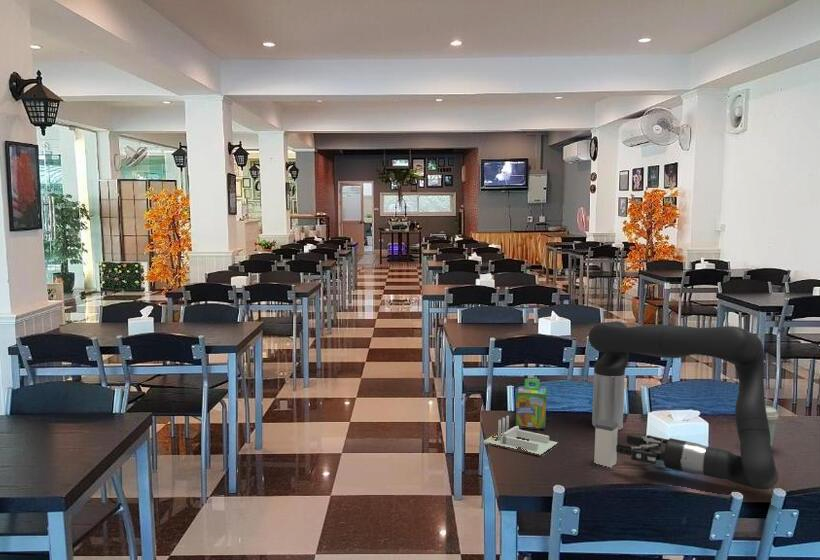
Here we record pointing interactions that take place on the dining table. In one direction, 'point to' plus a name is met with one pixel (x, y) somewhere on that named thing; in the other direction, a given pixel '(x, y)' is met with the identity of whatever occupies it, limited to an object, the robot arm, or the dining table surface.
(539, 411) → the chalk box
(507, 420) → the header socket
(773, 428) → the coffee cup
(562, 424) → the dining table surface
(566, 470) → the dining table surface
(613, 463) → the block
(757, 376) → the robot arm
